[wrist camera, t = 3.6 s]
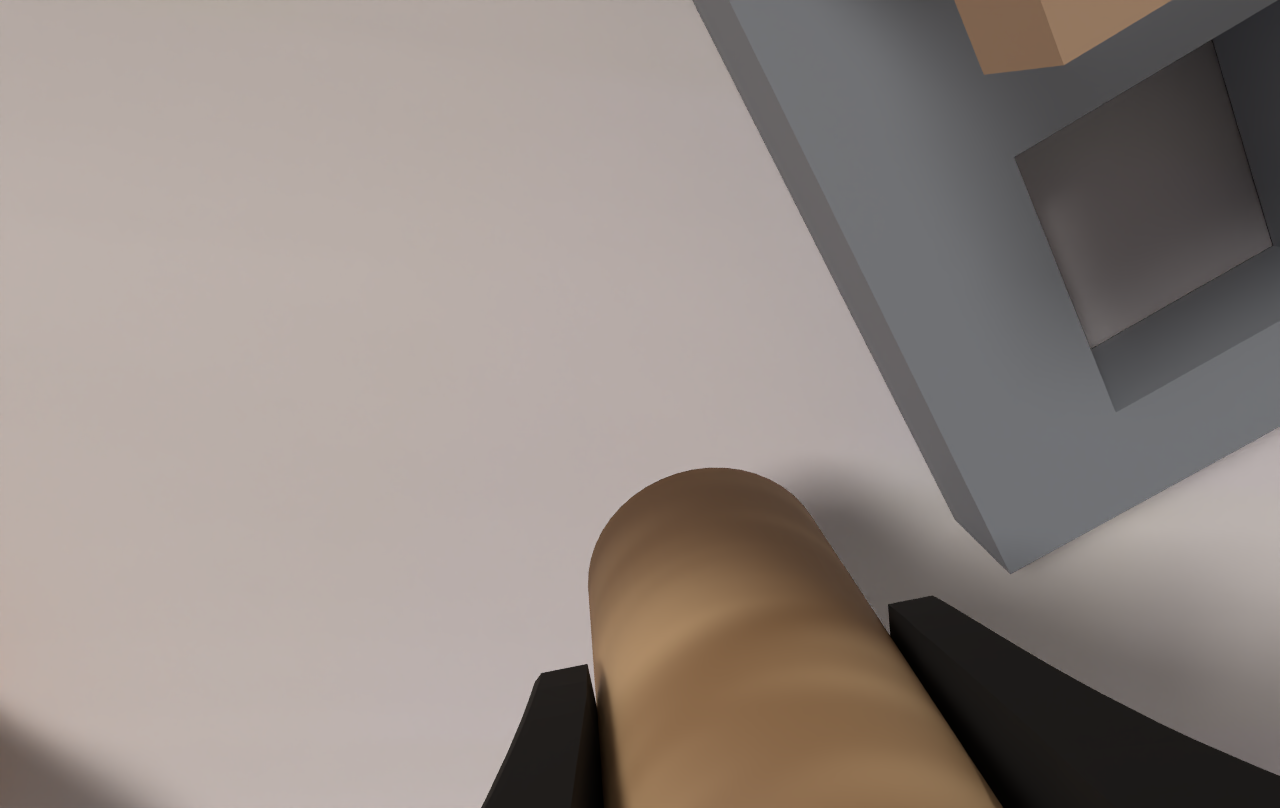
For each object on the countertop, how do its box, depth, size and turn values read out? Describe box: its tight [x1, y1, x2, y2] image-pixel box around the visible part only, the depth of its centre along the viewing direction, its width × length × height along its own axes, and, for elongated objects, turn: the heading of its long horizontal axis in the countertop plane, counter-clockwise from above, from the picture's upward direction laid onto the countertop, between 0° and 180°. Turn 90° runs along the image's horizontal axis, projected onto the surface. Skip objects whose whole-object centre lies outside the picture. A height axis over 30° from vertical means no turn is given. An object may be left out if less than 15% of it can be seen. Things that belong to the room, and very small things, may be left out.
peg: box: [588, 468, 1003, 808], centre depth 10 cm, size 4×4×8 cm
